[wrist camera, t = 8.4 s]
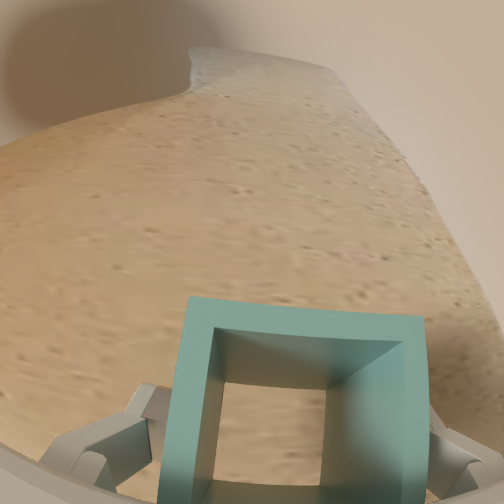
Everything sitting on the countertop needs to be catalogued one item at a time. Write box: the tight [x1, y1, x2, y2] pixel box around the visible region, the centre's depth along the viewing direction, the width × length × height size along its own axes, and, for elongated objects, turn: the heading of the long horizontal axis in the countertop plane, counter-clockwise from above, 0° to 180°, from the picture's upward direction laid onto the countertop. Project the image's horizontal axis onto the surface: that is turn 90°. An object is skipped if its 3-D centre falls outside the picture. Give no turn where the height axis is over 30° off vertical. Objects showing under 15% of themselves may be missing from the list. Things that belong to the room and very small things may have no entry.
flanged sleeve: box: [157, 296, 430, 504], centre depth 9 cm, size 8×8×8 cm
